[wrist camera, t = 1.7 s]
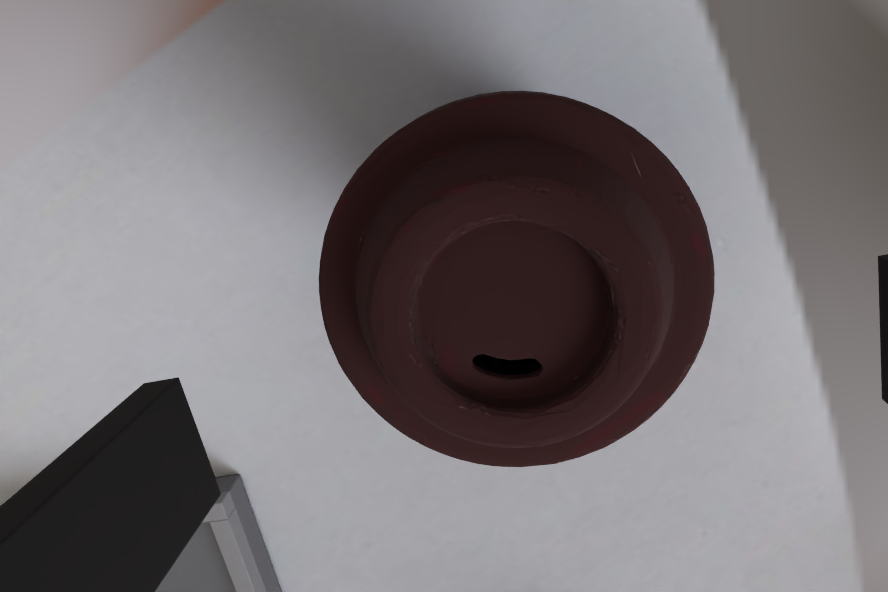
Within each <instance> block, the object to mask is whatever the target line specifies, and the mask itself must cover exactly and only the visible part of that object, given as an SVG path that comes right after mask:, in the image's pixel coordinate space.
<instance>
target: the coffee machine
mask: <svg viewBox="0 0 888 592" xmlns="http://www.w3.org/2000/svg"><path fill="white" fill-rule="evenodd" d="M215 479H216V481H217V484H218V487H219V489H220V492H221V495H220V496H219V498H218V499H217V501H216V502H215V504H214V505H213V507H212V508H211V510H210V511H209V513H208V514H207V516H206V517H205V519H204V520H203V522H202V523H201V524H200V526H199V527H198V529H197V530H196V532H195V533H194V535H193V536H192V538H191V539H190V541H189V542H188V544H187V545H186V547H185V548H184V550H183V551H182V552H181V554H180V555H179V557H178V558H177V560H176V561H175V563H174V564H173V566H172V567H171V569H170V570H169V572H168V573H167V575H166V576H165V578H164V579H163V581H162V582H161V583H160V585H159V586H158V588H157V589H156V591H155V592H282V591H281V588H280V585H279V583H278V580H277V577H276V574H275V571H274V569H273V566H272V563H271V560H270V557H269V555H268V552H267V549H266V546H265V544H264V541H263V538H262V535H261V532H260V530H259V527H258V524H257V521H256V519H255V516H254V513H253V510H252V507H251V505H250V502H249V499H248V496H247V493H246V491H245V488H244V485H243V482H242V480H241V477H240V475H233V476H226V477H219V478H215Z"/></svg>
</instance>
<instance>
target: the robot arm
mask: <svg viewBox="0 0 888 592" xmlns="http://www.w3.org/2000/svg"><path fill="white" fill-rule="evenodd" d="M878 271H879V307H880V340H881V341H880V342H881V378H882V399H883V400H884V401H885V402H886V403H887V404H888V254H887V255H882V256H878ZM220 495H221V492H220V489H219V487H218V484H217V481H216V479H215V476H214V473H213V470H212V468H211V465H210V462H209V459H208V457H207V454H206V451H205V448H204V446H203V443H202V440H201V438H200V435H199V432H198V429H197V427H196V424H195V421H194V418H193V416H192V413H191V410H190V407H189V405H188V402H187V399H186V397H185V394H184V391H183V388H182V386H181V383H180V380H179V378H173V379H167V380H161V381H156V382H150V383H144V384H143V385H142V386H140V387H139V388H138V389H137V390H136V391H135V392H133V393H132V394H131V395H130V396H129V397H128V398H126V399H125V400H124V401H123V402H122V403H121V404H119V405H118V406H117V407H116V408H115V409H114V410H112V411H111V412H110V413H109V414H108V415H107V416H105V417H104V418H103V419H102V420H101V421H100V422H98V423H97V424H96V425H95V426H94V427H93V428H91V429H90V430H89V431H88V432H87V433H86V434H84V435H83V436H82V437H81V438H80V439H79V440H77V441H76V442H75V443H74V444H73V445H72V446H70V447H69V448H68V449H67V450H66V451H65V452H63V453H62V454H61V455H60V456H59V457H58V458H56V459H55V460H54V461H53V462H52V463H51V464H49V465H48V466H47V467H46V468H45V469H44V470H42V471H41V472H40V473H39V474H38V475H37V476H35V477H34V478H33V479H32V480H31V481H30V482H28V483H27V484H26V485H25V486H24V487H23V488H21V489H20V490H19V491H18V492H17V493H16V494H14V495H13V496H12V497H11V498H10V499H8V500H7V501H6V502H5V503H4V504H3V505H1V506H0V592H155V591H156V589H157V588H158V586H159V585H160V583H161V582H162V581H163V579H164V578H165V576H166V575H167V573H168V572H169V570H170V569H171V567H172V566H173V564H174V563H175V561H176V560H177V558H178V557H179V555H180V554H181V552H182V551H183V550H184V548H185V547H186V545H187V544H188V542H189V541H190V539H191V538H192V536H193V535H194V533H195V532H196V530H197V529H198V527H199V526H200V524H201V523H202V522H203V520H204V519H205V517H206V516H207V514H208V513H209V511H210V510H211V508H212V507H213V505H214V504H215V502H216V501H217V499H218V498H219V496H220Z"/></svg>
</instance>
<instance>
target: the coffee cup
mask: <svg viewBox="0 0 888 592" xmlns="http://www.w3.org/2000/svg"><path fill="white" fill-rule="evenodd" d="M319 293H320V303H321V310H322V316H323V321H324V325H325V329H326V332H327V336H328V339H329V342H330V344H331V346H332V349H333V351H334V353H335V355H336V358H337V360H338V362H339V364H340V366H341V368H342V370H343V371H344V373H345V374H346V376H347V377H348V379H349V380H350V381H351V383H352V384H353V386H354V387H355V388H356V390H357V391H358V392H359V394H360V395H361V397H362V398H363V399H364V400H365V401H366V402H367V403H368V404H369V405H370V406H371V407H372V408H373V409H374V410H375V411H376V412H377V413H378V414H379V415H380V416H381V417H382V418H383V419H384V420H386V421H387V422H388V423H389V424H391V425H392V426H393V427H395V428H396V429H397V430H399V431H400V432H402V433H403V434H405V435H406V436H408V437H409V438H411V439H413V440H415V441H416V442H418V443H420V444H422V445H424V446H426V447H428V448H430V449H433V450H435V451H437V452H440V453H442V454H445V455H448V456H451V457H454V458H457V459H460V460H464V461H468V462H473V463H477V464H483V465H490V466H502V467H525V466H536V465H547V464H555V463H559V462H563V461H567V460H570V459H574V458H578V457H581V456H584V455H586V454H589V453H592V452H594V451H597V450H599V449H602V448H604V447H606V446H608V445H610V444H612V443H614V442H615V441H617V440H619V439H620V438H622V437H624V436H625V435H627V434H628V433H630V432H632V431H633V430H635V429H636V428H637V427H639V426H640V425H641V424H642V423H644V422H645V421H646V420H647V419H649V418H650V417H651V416H652V415H653V414H654V413H655V412H656V411H657V410H658V409H660V408H661V406H662V405H663V404H664V403H665V402H666V401H667V400H668V399H669V398H670V397H671V395H672V394H673V393H674V392H675V391H676V389H677V388H678V386H679V385H680V384H681V382H682V381H683V380H684V378H685V377H686V375H687V373H688V371H689V370H690V368H691V366H692V365H693V363H694V361H695V359H696V357H697V355H698V352H699V350H700V348H701V346H702V344H703V341H704V338H705V335H706V332H707V329H708V326H709V320H710V314H711V308H712V302H713V296H714V261H713V254H712V250H711V245H710V240H709V235H708V231H707V226H706V223H705V221H704V218H703V215H702V213H701V210H700V207H699V205H698V203H697V202H696V200H695V198H694V196H693V194H692V192H691V190H690V188H689V186H688V185H687V183H686V182H685V180H684V179H683V177H682V176H681V174H680V173H679V171H678V170H677V169H676V168H675V167H674V165H673V164H672V163H671V162H670V161H669V159H668V158H667V157H666V156H665V155H664V154H663V153H662V152H661V151H660V150H659V149H658V148H657V147H656V146H655V145H654V144H653V143H652V142H651V141H649V140H648V139H647V138H646V137H644V136H643V135H642V134H640V133H639V132H638V131H637V130H635V129H634V128H632V127H631V126H629V125H627V124H626V123H624V122H623V121H621V120H619V119H618V118H616V117H614V116H612V115H610V114H608V113H606V112H604V111H602V110H600V109H598V108H595V107H593V106H590V105H588V104H586V103H583V102H580V101H577V100H574V99H571V98H567V97H563V96H558V95H553V94H548V93H542V92H529V91H502V92H494V93H486V94H479V95H475V96H471V97H468V98H464V99H460V100H457V101H453V102H451V103H448V104H446V105H443V106H441V107H438V108H436V109H434V110H432V111H430V112H428V113H426V114H424V115H422V116H420V117H419V118H417V119H415V120H414V121H412V122H411V123H409V124H408V125H406V126H405V127H403V128H401V129H400V130H398V131H397V132H396V133H394V134H393V135H392V136H390V137H389V138H388V139H387V140H385V141H384V142H383V143H382V144H381V145H380V146H379V147H378V148H377V149H375V150H374V152H373V153H372V154H371V155H370V156H369V157H368V158H367V159H366V160H365V161H364V163H363V164H362V165H361V166H360V167H359V168H358V169H357V171H356V172H355V174H354V175H353V177H352V178H351V180H350V181H349V183H348V184H347V185H346V187H345V188H344V190H343V192H342V194H341V196H340V198H339V200H338V202H337V204H336V206H335V208H334V210H333V213H332V215H331V218H330V220H329V223H328V226H327V230H326V233H325V236H324V242H323V248H322V253H321V259H320V271H319Z"/></svg>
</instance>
